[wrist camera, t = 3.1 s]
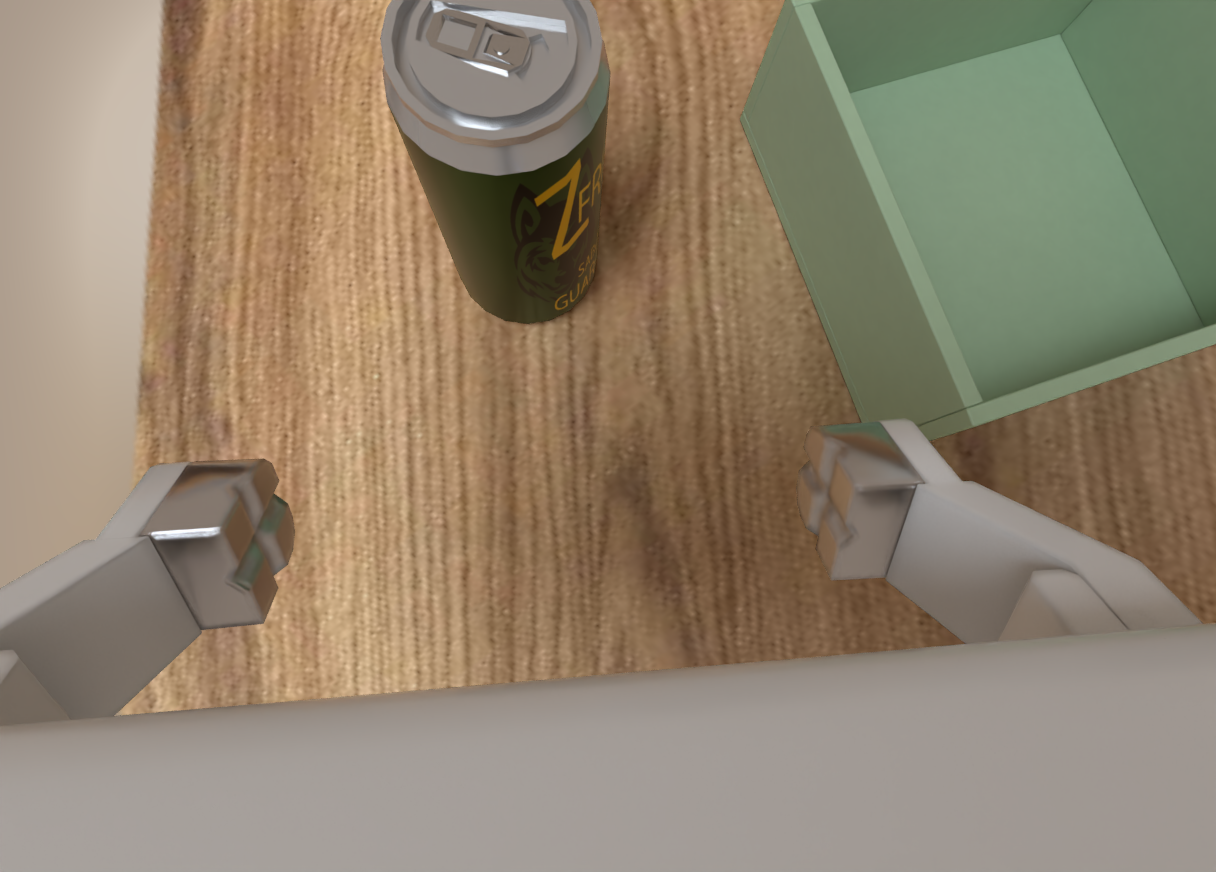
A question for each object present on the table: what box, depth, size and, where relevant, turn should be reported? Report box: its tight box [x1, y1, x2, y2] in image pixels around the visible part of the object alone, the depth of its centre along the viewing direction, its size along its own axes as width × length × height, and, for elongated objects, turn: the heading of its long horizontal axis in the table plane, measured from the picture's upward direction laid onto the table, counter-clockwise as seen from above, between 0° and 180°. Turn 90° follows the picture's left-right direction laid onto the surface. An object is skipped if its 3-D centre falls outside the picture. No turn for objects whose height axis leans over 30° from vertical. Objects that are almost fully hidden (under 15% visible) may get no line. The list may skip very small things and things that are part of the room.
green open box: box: [740, 0, 1216, 441], centre depth 25 cm, size 15×15×7 cm
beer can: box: [380, 0, 610, 324], centre depth 21 cm, size 5×5×12 cm
